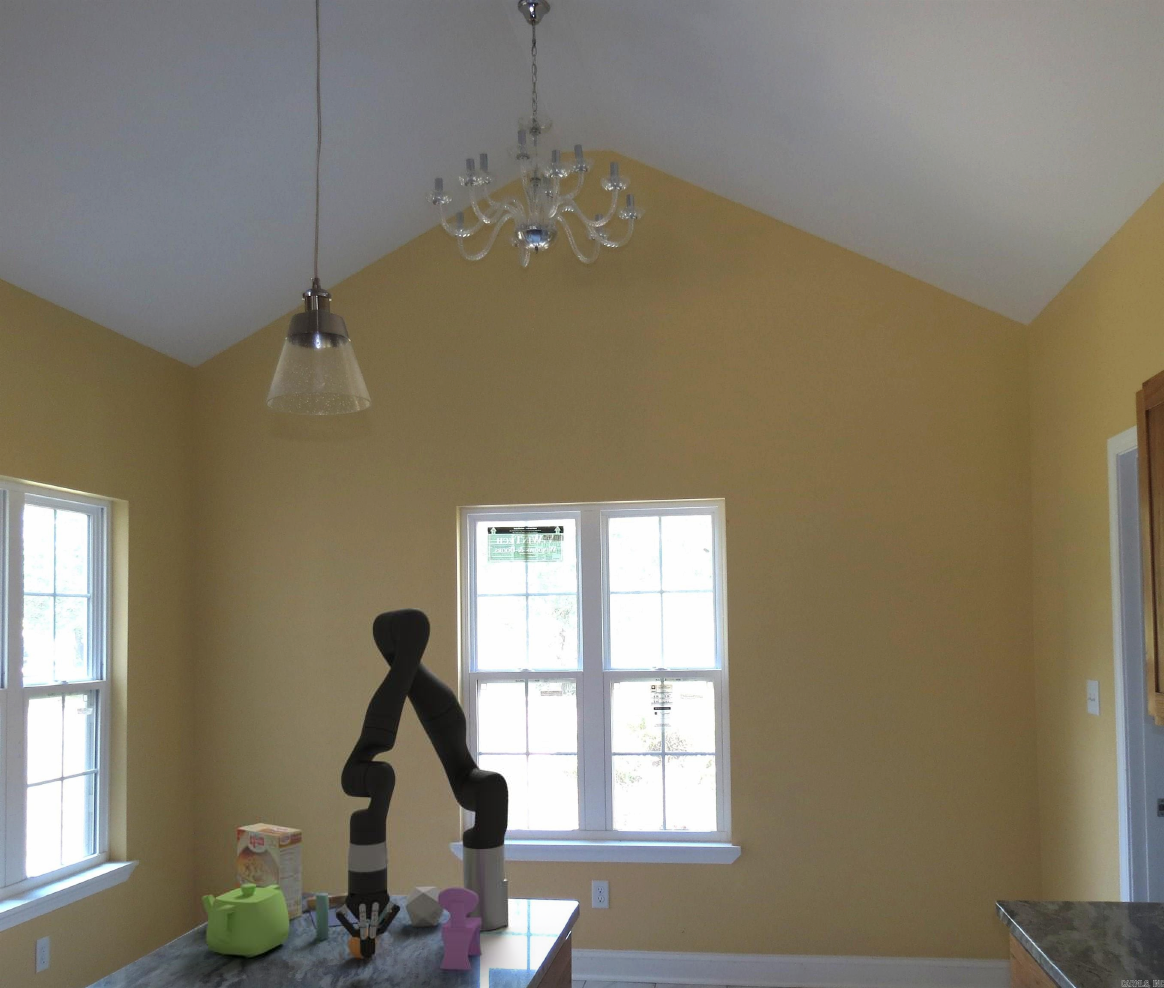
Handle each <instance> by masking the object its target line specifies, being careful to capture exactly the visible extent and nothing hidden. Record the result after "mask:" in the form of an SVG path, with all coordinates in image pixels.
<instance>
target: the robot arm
mask: <svg viewBox="0 0 1164 988" xmlns="http://www.w3.org/2000/svg"><path fill="white" fill-rule="evenodd" d="M430 635H431V624H430V620H429V618H428V616H427V614H426V613H425V612H424V610H422V609H420V608H418V607H416V608H415V607H410V608H408V607H407V608H402V609H396V610H391V611H385V612H382V613H379V614H378V615H377V616H376V617H375V619H374V621H373V623H372V636H373V640H374V643H375V645H376V648H377V649H378V651H379V652H380V654H381V656H382V657H383V658H384V660H385V662H386V663H387V664H388V666H389V671H388V672H387V674H386V676H385V677H384V679H383V681H382V682H381V684H379V686H378V688H377V690H375V692H374V694H373V695H372V697H371V700H370V701H369V703H368V706H367V708H366V712H365V716H364V720H363V724H362V728H361V732H360V736H359V738H358V740H357V742H356V743H355V745H354V747H353V749H352V751H351V753H350V755H349V756H348V758H347V760H346V762H345V764H344V766H343V768H342V771H341V775H340V784H341V789H342V791H343V792H344V793H345V795H347V796H349V797H352V798H367V799H370V802H369V804H368V806H367V808H361V809H357V810H356V811H354V812H352V814H351V816H350V819H349V845H348V846H349V847H348V855H347V893H348V895H347V898H346V900H345V904H344V905H343V906H342V907H341V908H340V909H336V910H335V916H336V918H337V919H338V920H339V921H340V923H341V924H342V925H341V926H343V928H344V929H345V930H346V932H348V934H349V935H350V937H351V936H352V937H358V938H360V954H361V956H363V958H364V960H368V959H369V960H370V959H372V958H373V955H375V954H376V949H375V939H376V940H377V936H380V935H381V934H382V935H383V934H385V932H387V931H386V929H387V928H389V927H390V926H391V924H392V922H393V920H395V918H396V916H397V915H398V914H399V912H400V910H401V906H400V905H399V904H398V902H395V901H393V900H391V896H390V894H389V892H388V863H389V858H388V847H387V818H388V813H389V809H390V805H391V800H392V799H393V798H392V797H393V794H394V790H395V786H396V781H397V780H396V777H397V776H396V773H395V770H394V767H393V766H392V764H390V763H389V762H387V761H383V760H382V761H380V760H374V759H375V757H376V756H377V755H379V754H381V753H386V752H389V751H392V749H394V746H395V743H396V740H397V735H398V731H399V726H400V722H401V717H402V714H403V710H404V706H405V703H406V700H407V698H408V700H409V702H410V704H411V705H412V708H413V709H414V712H415V715H416V716H417V718H418V720H419V722H420V724H421V726H422V728H423V731H424V732H425V733H426V735H427V737H428V739H429V740H430V742H431V744H432V747H433V749H434V751H435V753H436V755H437V757H438V759H439V760H440V763H441V764H442V768H443V769H444V772H445V774H446V777H447V779H448V780H447V781H448V782H449V785H450V787H451V791H452V793H453V795H454V798H455V800H456V802H457V803H458V804H459V806H460V807H461V808H462V809H464V810H466V811H469V812H473V813H474V825H473V826H472V827H470V828H468V829H466V830H464V831H463V833H462V878H463V879H462V881H463V883H462V885H463V887H462V888H466V889H469V890H471V891H473V892H475V893H476V894H477V895H478V898H479V901H478V904H477V906H476V907H475V908H474V910H473V911H471V912H470V913H468V914H467V915H466V918H472V917H481V922H482V926H481V929H480V931H492V930H493V931H494V930H497V929H500V928H502V927H504V926H509V925H510V924H509V884H508V883H509V882H508V879H506V865H505V864H506V863H505V859H506V858H505V857H506V856H505V835H506V834H507V833H506V832H507V830H508V823H509V787H508V783H507V781H506V779H505V777H504V776H503V775H502V774H501V773H499V772H498V771H497V772H496V771H491V770H485V769H481V768H480V767H479V766H478V765H477V763H476V762H475V760H474V758H473V756H472V754H471V753H470V750H469V748H468V744H467V719H466V715H465V712H464V710H463V708H462V706H461V704H460V703H459V699H458V698H457V696H456V694H455V693H454V691H453V690H452V688H451V687H450V686H449V685H448V684H447V683H446V682H444V681H443V680H442V679H441V678H440V677H438V676H437V674H436V673H433V672H432V671H431V670H430V669H429V668H428V667H427V666H425V665H424V663H423V662H422V658H423V655H424V653H425V650H426V649H427V645H428V643H429V639H430ZM386 906H387V908H386V910H387V913H386V914H385V916H384V917H383V919H382V920H381V921H380V923H379V924H378V926H377V919H378V917H379V916H380V915H381V914H382V912H383V910H384V909H385V907H386ZM348 909H349V910H350V912H351V913H352V914H353V916H354V917H355V918H356V919H357V920H358V923H357V924H358V925H357V926H358V928H357V927H355V926H354V925H353V924H352V923H351V922H350V921H349V920H348V919H347V917H348V912H347V910H348ZM367 919H368V922H366V920H367ZM367 923H368V924H367ZM367 926H368V927H367ZM367 930H368V936H367Z"/></svg>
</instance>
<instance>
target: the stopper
mask: <svg viewBox="0 0 1164 988" xmlns="http://www.w3.org/2000/svg"><path fill="white" fill-rule="evenodd" d="M347 895H348V892H344V893H335V894H329V908H330V907H338V906H343V905H344V904H345V900H346V898H347ZM314 909H316V896H311V897H306V911H307V912H310V910H314Z"/></svg>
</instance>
